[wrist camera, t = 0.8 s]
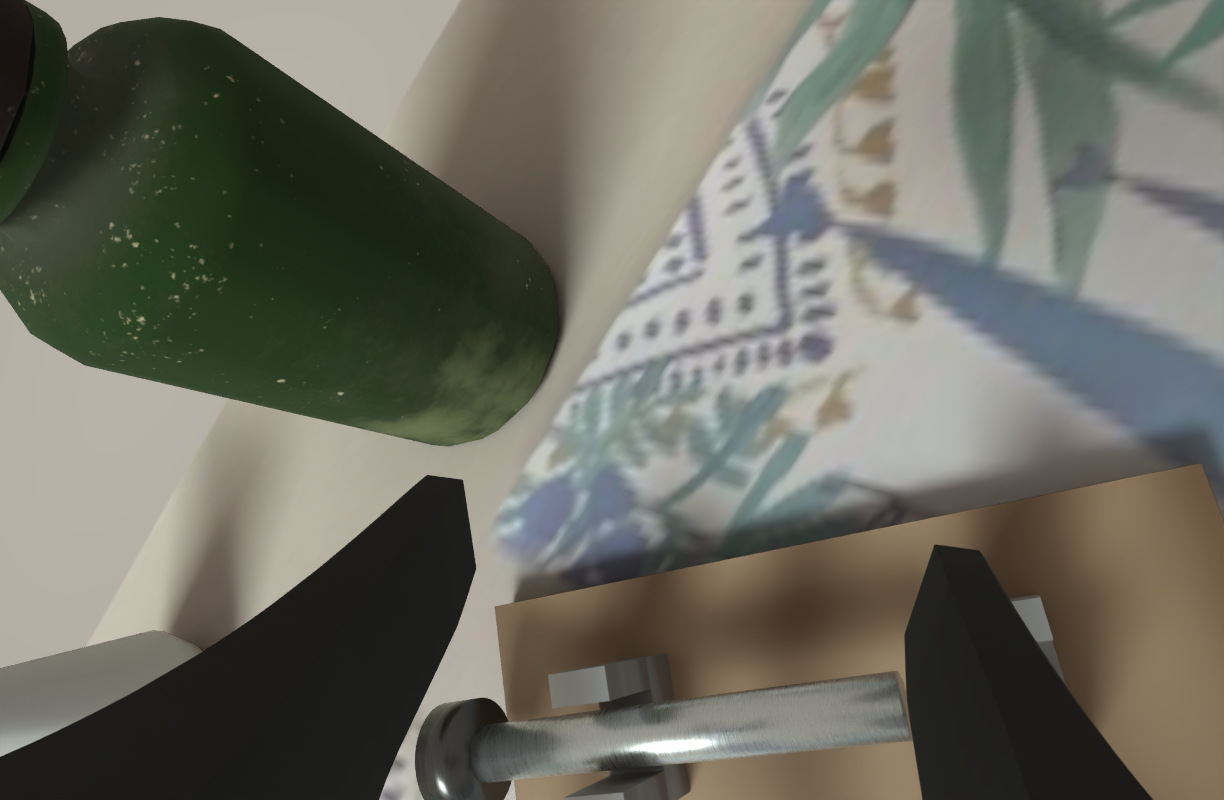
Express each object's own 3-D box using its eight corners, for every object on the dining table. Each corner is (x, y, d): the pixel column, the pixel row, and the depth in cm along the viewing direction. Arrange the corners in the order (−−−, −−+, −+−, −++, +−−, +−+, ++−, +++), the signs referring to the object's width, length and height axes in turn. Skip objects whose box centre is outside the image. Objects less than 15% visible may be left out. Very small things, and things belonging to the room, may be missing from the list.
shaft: (896, 633, 24) (877, 641, 21) (930, 763, 23) (914, 792, 20) (474, 696, 30) (410, 710, 27) (485, 801, 29) (419, 828, 26)
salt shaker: (184, 608, 42) (-130, 618, 30) (247, 664, 39) (-73, 699, 27) (139, 710, 42) (-192, 759, 30) (199, 774, 39) (-141, 854, 27)
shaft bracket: (1192, 468, 23) (1243, 435, 18) (1338, 847, 20) (1449, 940, 15) (511, 605, 33) (414, 610, 27) (543, 878, 30) (441, 942, 24)
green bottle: (595, 381, 33) (-235, -3, 11) (408, 485, 36) (-507, 344, 15) (524, 187, 37) (-200, -382, 15) (360, 297, 40) (-422, -36, 18)
